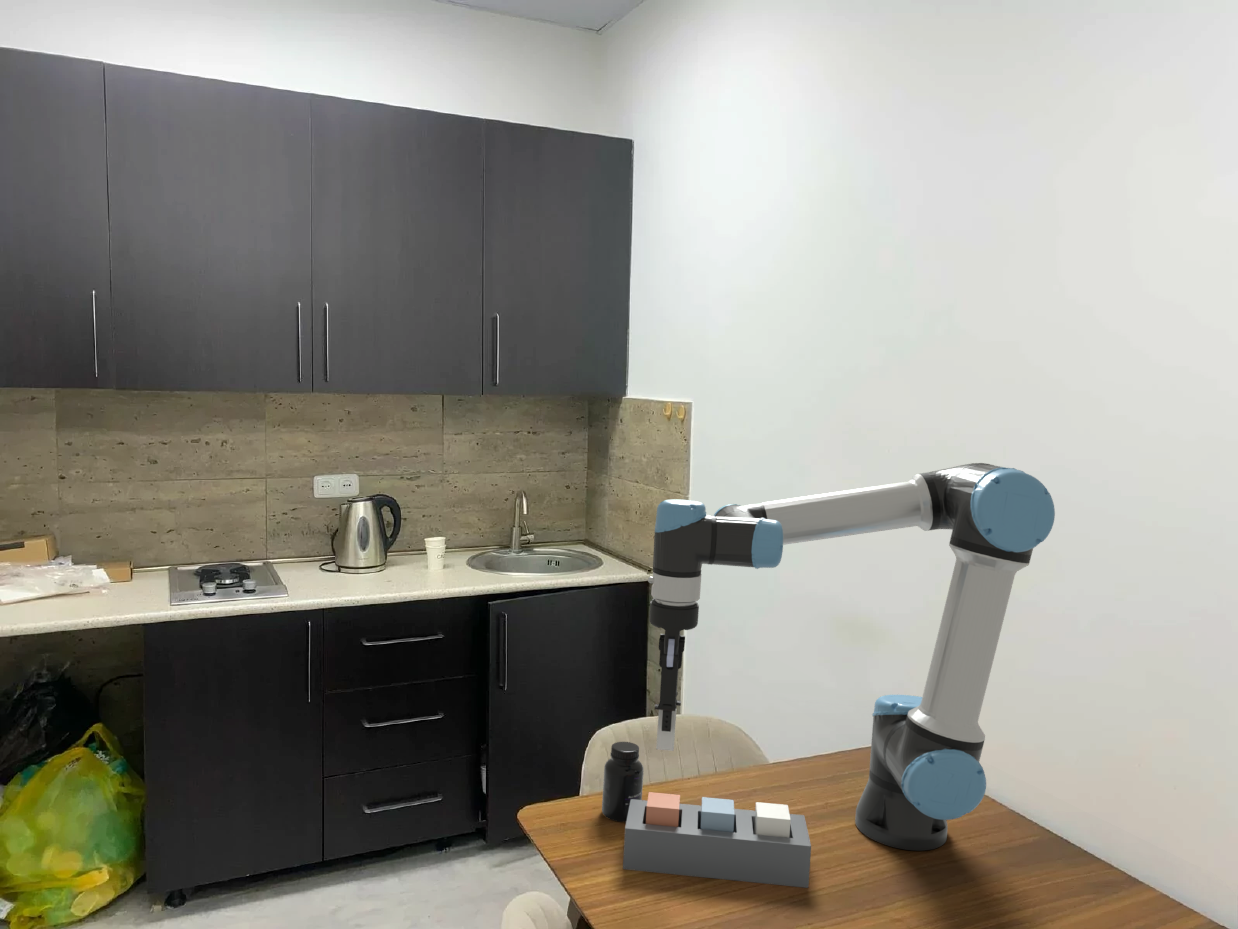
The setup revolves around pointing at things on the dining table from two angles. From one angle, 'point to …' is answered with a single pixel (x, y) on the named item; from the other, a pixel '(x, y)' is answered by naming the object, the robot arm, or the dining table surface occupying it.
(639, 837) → the console
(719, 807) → the blue key
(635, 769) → the supplement bottle
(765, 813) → the white key
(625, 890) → the dining table surface
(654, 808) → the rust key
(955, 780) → the robot arm
